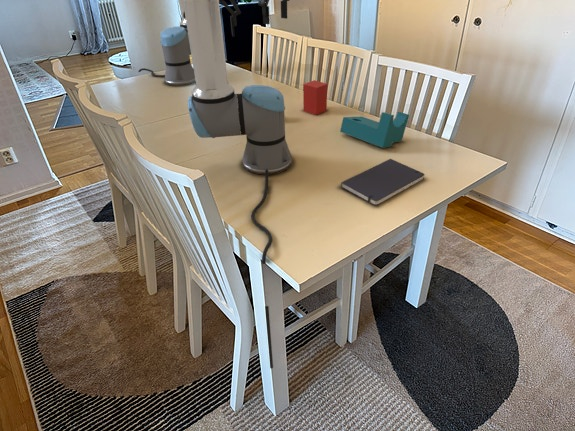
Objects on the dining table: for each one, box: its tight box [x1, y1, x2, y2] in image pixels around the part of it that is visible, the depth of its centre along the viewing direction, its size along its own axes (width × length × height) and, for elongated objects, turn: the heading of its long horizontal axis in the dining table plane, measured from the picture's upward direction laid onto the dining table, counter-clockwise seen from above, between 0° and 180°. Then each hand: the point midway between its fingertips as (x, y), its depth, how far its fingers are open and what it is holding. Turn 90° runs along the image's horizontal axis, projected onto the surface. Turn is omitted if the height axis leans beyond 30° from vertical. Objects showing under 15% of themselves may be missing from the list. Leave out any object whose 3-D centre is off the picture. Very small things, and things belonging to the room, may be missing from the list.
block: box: [302, 79, 328, 116], centre depth 158 cm, size 7×6×11 cm
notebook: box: [340, 158, 425, 206], centre depth 114 cm, size 13×2×21 cm
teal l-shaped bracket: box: [339, 111, 410, 149], centre depth 136 cm, size 18×11×10 cm, turn 43°
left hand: (275, 21), depth 169 cm, fingers open, 13 cm apart
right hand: (215, 37), depth 147 cm, fingers open, 13 cm apart
